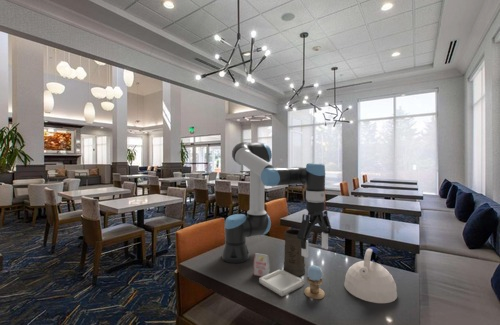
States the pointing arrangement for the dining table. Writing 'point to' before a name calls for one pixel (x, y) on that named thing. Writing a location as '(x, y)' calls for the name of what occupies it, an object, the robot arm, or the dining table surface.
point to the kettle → (370, 280)
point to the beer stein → (293, 254)
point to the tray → (281, 282)
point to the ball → (314, 273)
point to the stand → (314, 289)
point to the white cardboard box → (261, 265)
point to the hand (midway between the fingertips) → (315, 252)
